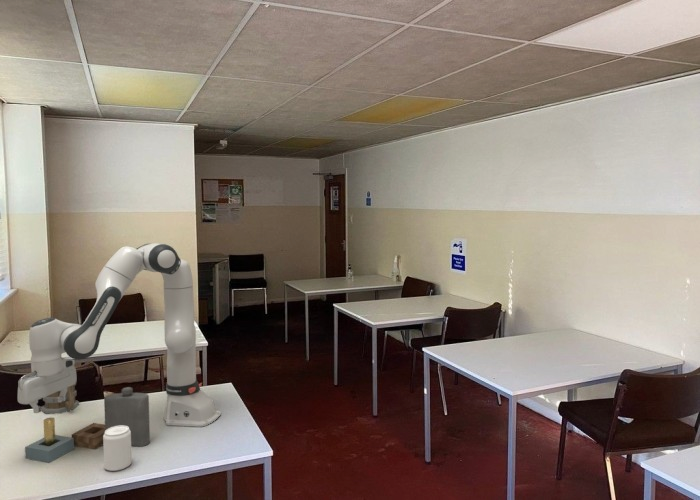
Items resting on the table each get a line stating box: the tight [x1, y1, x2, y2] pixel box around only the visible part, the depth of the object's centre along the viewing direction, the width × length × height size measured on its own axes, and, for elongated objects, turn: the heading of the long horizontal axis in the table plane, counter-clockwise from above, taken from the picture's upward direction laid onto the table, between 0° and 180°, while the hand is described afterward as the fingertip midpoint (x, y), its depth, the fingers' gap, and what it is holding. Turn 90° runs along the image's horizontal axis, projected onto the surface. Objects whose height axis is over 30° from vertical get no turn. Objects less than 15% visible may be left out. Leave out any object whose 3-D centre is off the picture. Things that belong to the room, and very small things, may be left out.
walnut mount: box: [71, 422, 105, 450], centre depth 176 cm, size 10×10×4 cm
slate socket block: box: [24, 434, 75, 464], centre depth 167 cm, size 10×10×4 cm
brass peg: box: [43, 417, 56, 446], centre depth 167 cm, size 3×3×12 cm
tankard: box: [40, 382, 80, 415], centre depth 204 cm, size 20×13×15 cm, turn 50°
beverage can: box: [102, 425, 133, 472], centre depth 159 cm, size 8×8×12 cm
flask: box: [103, 386, 151, 447], centre depth 174 cm, size 15×6×20 cm, turn 93°
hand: (49, 406), depth 166 cm, fingers open, 8 cm apart
